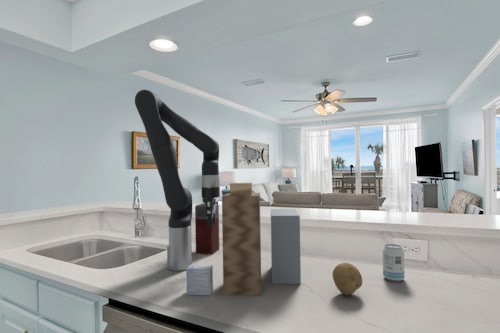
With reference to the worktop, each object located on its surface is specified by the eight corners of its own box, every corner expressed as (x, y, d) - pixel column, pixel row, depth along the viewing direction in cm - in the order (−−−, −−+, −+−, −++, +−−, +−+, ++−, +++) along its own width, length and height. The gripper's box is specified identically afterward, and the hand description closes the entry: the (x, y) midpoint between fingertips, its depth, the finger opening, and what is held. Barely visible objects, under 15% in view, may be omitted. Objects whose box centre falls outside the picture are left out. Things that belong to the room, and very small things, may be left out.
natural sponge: (348, 286, 97) (347, 257, 97) (369, 297, 89) (368, 265, 89) (327, 291, 93) (326, 261, 93) (347, 303, 85) (346, 270, 85)
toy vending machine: (221, 248, 146) (220, 193, 146) (212, 254, 136) (211, 196, 136) (205, 247, 149) (204, 193, 149) (195, 253, 138) (194, 195, 138)
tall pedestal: (223, 295, 92) (222, 196, 92) (228, 280, 104) (227, 193, 104) (260, 295, 91) (258, 195, 91) (261, 280, 103) (259, 192, 103)
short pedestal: (272, 283, 100) (271, 215, 101) (271, 267, 117) (270, 209, 117) (300, 283, 100) (299, 215, 100) (295, 267, 116) (295, 208, 116)
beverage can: (404, 277, 104) (403, 244, 104) (404, 284, 98) (403, 249, 98) (383, 274, 107) (383, 242, 108) (382, 280, 101) (382, 247, 101)
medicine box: (213, 290, 96) (212, 264, 96) (210, 296, 91) (209, 269, 91) (190, 289, 96) (190, 264, 96) (186, 295, 92) (185, 268, 92)
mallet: (251, 195, 92) (251, 183, 93) (230, 195, 93) (229, 183, 93) (254, 190, 112) (253, 180, 112) (236, 191, 113) (236, 180, 113)
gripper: (204, 185, 125) (204, 222, 125) (198, 187, 111) (199, 228, 110) (221, 185, 125) (221, 222, 125) (217, 186, 111) (218, 228, 111)
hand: (211, 225), depth 118 cm, fingers open, 8 cm apart
